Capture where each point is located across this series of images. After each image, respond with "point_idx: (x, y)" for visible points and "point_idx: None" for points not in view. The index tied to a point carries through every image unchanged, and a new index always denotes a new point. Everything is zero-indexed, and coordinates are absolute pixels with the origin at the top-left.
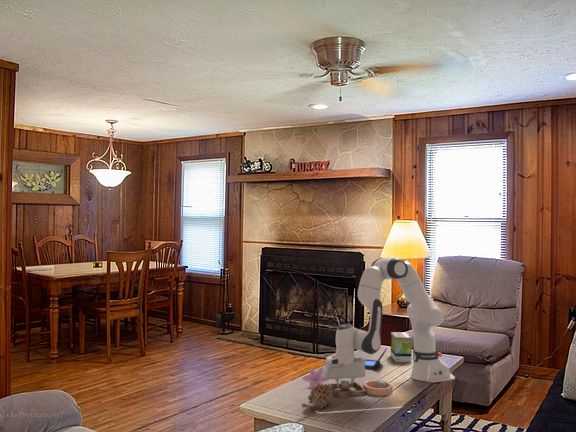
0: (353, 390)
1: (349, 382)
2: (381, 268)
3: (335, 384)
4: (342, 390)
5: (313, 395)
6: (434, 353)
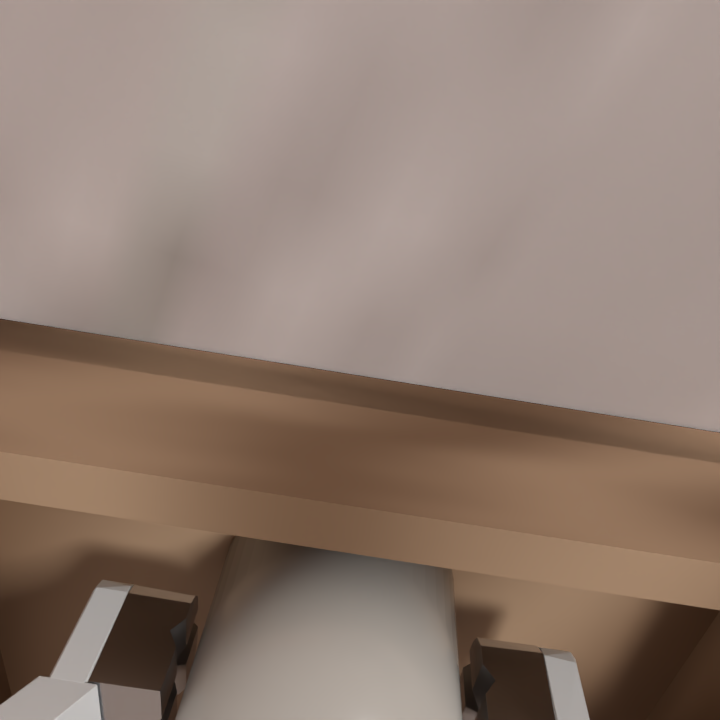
0: None
1: (657, 560)
2: None
3: (66, 485)
4: None
5: None
6: None
